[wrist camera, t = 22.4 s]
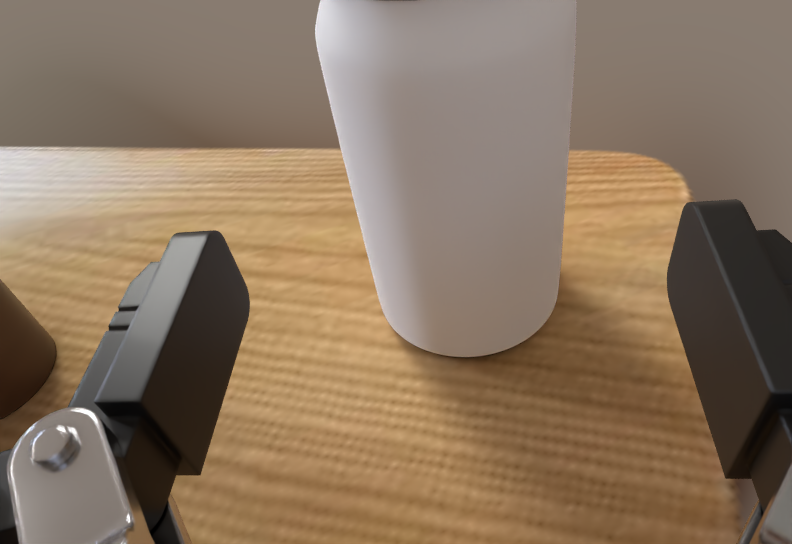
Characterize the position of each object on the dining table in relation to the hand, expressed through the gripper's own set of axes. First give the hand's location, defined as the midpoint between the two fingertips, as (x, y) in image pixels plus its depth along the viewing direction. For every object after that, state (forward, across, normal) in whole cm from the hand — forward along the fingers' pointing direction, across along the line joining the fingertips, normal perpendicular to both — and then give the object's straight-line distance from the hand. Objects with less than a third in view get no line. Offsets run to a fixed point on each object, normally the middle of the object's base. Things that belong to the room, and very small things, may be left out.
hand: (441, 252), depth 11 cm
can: (+7, 0, +9) cm, 12 cm away
